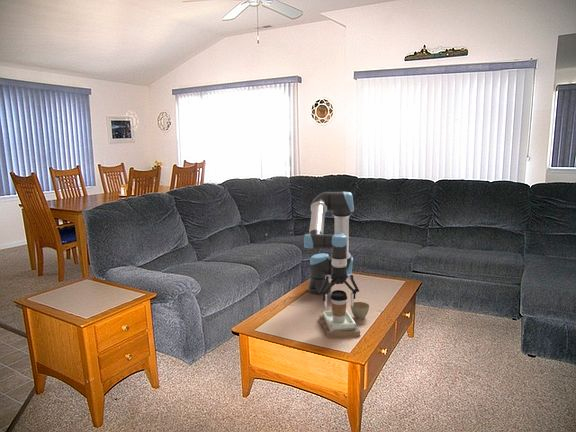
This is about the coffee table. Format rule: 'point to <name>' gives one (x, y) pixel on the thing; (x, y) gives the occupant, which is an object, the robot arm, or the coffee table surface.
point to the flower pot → (360, 310)
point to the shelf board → (338, 333)
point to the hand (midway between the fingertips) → (338, 305)
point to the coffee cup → (338, 305)
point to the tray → (346, 325)
